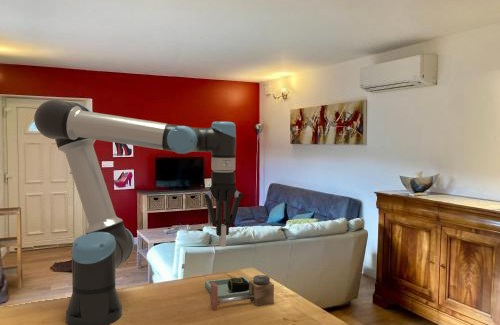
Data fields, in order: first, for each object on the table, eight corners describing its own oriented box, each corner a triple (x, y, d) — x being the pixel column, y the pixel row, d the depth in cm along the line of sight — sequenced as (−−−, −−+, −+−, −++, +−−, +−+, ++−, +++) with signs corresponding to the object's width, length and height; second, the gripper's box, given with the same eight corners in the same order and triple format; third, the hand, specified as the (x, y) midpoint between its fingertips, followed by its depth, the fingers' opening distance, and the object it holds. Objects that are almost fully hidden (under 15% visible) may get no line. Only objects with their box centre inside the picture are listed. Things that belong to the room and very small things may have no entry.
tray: (217, 303, 132) (217, 296, 132) (204, 287, 146) (204, 281, 146) (261, 297, 138) (261, 290, 137) (244, 282, 151) (244, 276, 151)
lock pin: (214, 309, 126) (214, 286, 125) (210, 304, 129) (210, 282, 129) (255, 303, 131) (255, 281, 130) (250, 298, 134) (251, 277, 134)
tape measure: (250, 293, 139) (251, 282, 139) (231, 295, 137) (231, 284, 137) (243, 286, 146) (243, 275, 145) (225, 288, 143) (225, 277, 143)
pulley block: (256, 306, 130) (256, 279, 129) (249, 299, 135) (249, 274, 135) (273, 303, 132) (274, 277, 132) (265, 297, 138) (266, 272, 137)
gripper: (206, 172, 125) (205, 250, 126) (247, 171, 129) (245, 246, 131) (200, 170, 132) (199, 244, 133) (238, 170, 136) (237, 241, 138)
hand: (222, 245), depth 132 cm, fingers closed
